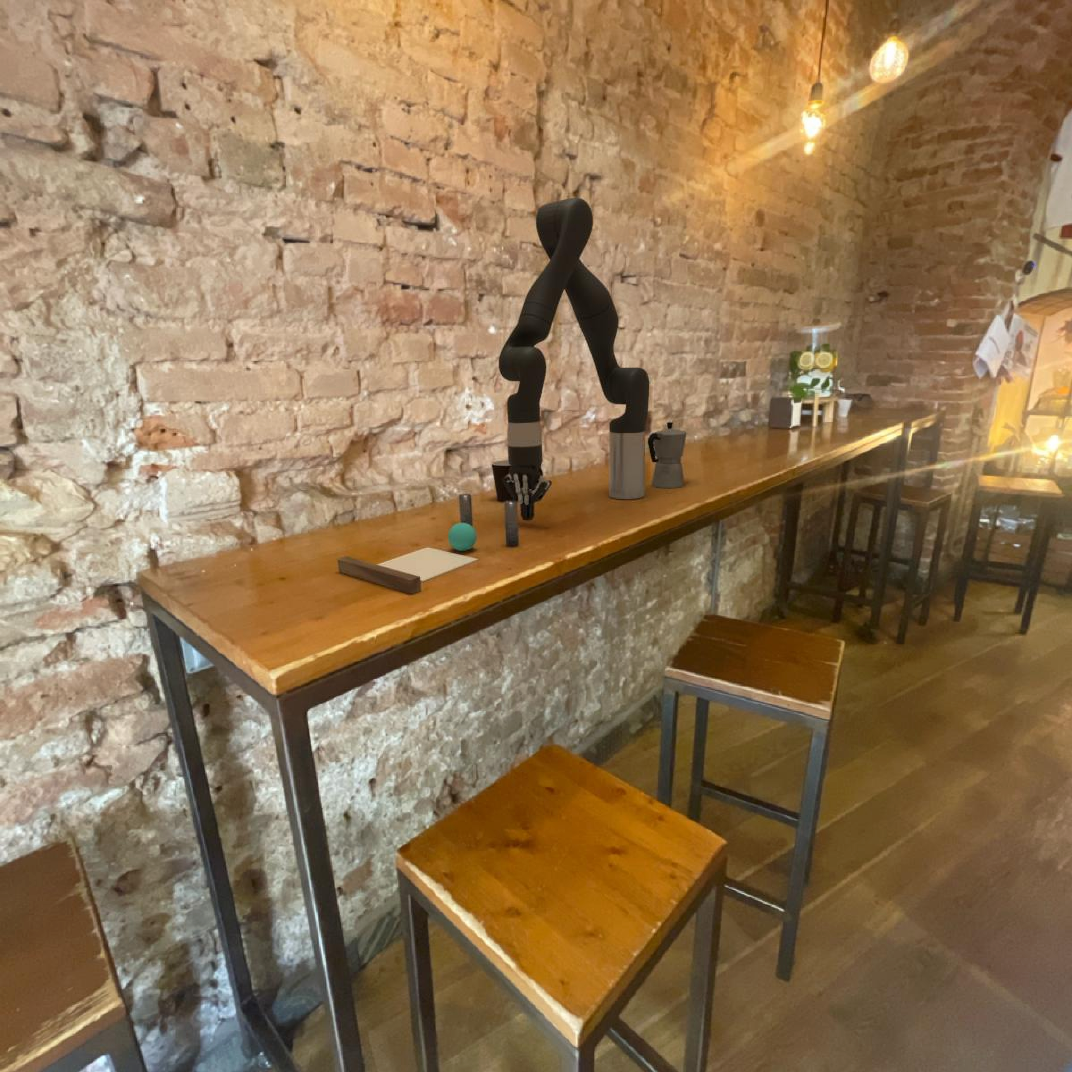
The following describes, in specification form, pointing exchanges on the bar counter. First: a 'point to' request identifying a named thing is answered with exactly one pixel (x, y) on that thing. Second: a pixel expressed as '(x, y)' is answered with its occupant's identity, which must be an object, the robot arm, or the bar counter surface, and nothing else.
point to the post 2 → (511, 523)
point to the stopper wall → (380, 575)
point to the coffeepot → (667, 457)
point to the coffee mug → (499, 472)
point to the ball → (462, 536)
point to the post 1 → (465, 509)
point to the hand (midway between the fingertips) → (527, 519)
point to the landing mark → (428, 563)
